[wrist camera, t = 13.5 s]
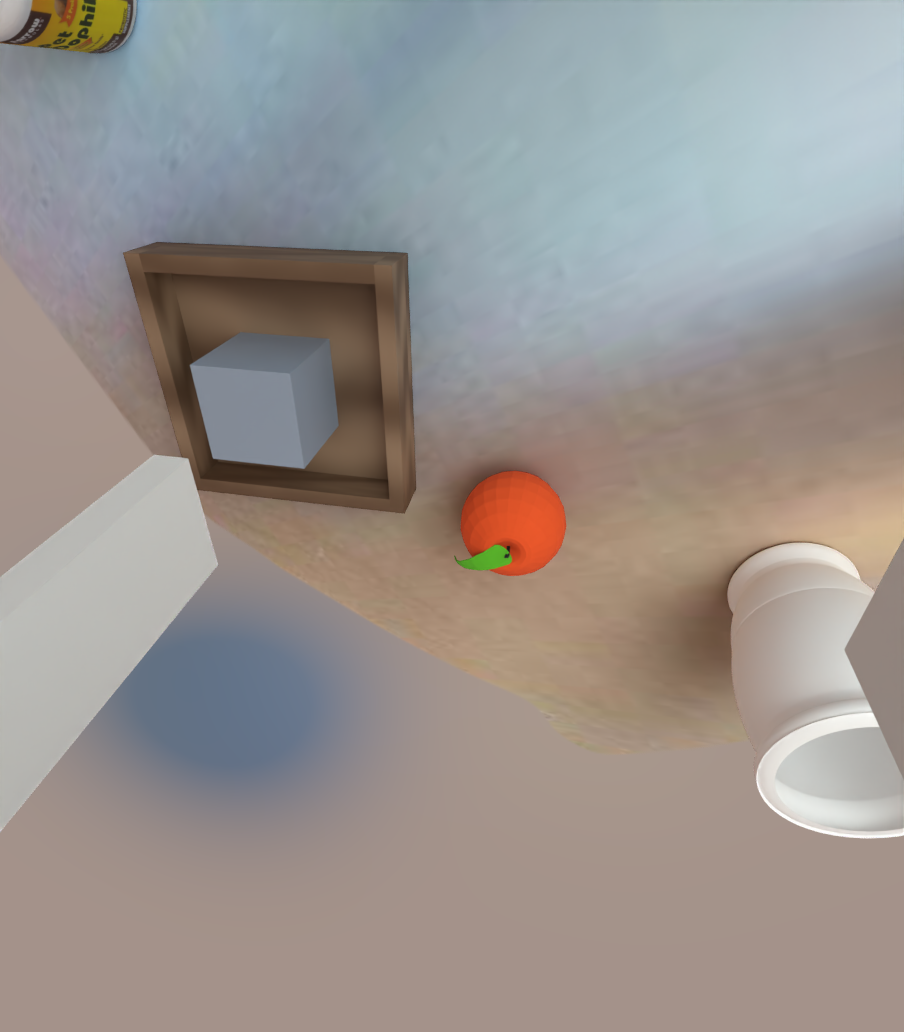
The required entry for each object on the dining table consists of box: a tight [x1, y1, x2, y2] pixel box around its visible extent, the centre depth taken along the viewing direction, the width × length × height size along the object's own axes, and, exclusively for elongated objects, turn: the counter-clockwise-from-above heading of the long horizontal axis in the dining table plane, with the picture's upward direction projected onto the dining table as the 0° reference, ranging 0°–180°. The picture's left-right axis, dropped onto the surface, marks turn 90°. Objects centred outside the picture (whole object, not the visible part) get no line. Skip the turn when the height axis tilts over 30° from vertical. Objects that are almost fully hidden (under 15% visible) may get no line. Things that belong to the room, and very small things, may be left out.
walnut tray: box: [123, 242, 416, 514], centre depth 39 cm, size 16×16×3 cm
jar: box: [727, 543, 904, 838], centre depth 36 cm, size 11×10×15 cm
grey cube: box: [190, 332, 339, 469], centre depth 37 cm, size 6×6×6 cm
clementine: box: [454, 471, 566, 576], centre depth 40 cm, size 8×7×7 cm
